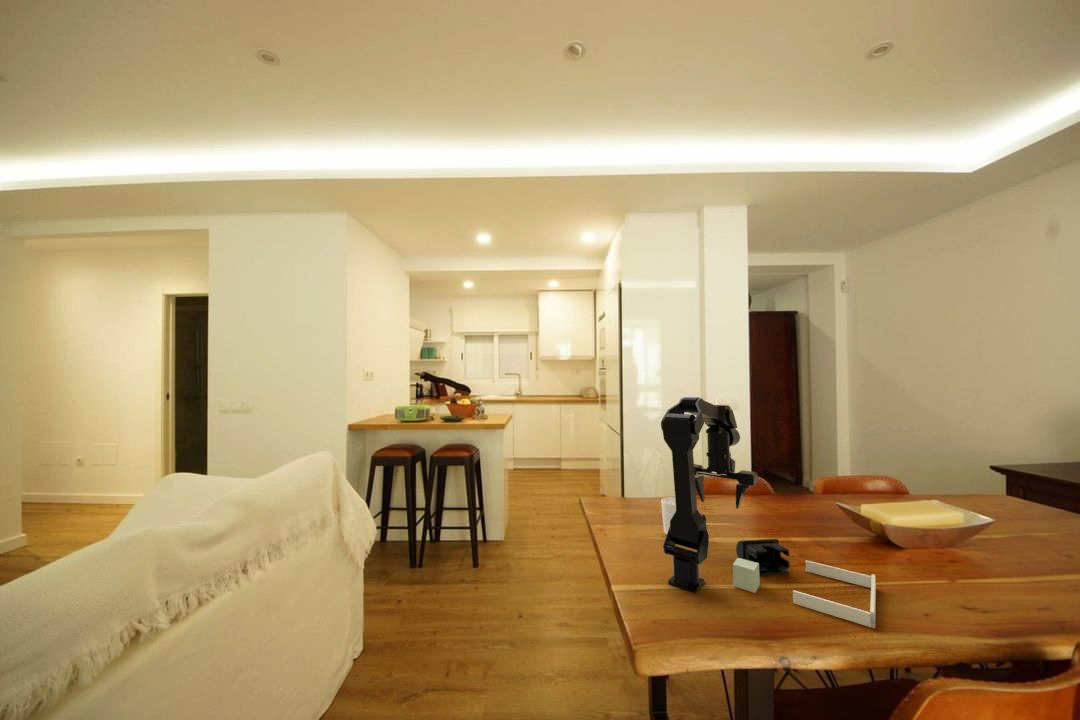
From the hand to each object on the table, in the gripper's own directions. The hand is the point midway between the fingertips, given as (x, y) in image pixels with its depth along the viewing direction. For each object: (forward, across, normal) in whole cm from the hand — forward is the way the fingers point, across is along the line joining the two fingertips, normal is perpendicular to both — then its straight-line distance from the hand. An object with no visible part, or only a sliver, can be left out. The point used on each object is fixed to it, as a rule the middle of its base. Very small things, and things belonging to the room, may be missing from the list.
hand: (719, 505), depth 109 cm
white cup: (+13, +15, -5) cm, 20 cm away
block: (+13, -10, +16) cm, 23 cm away
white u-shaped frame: (+13, -26, +8) cm, 30 cm away
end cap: (+13, -11, +4) cm, 18 cm away
